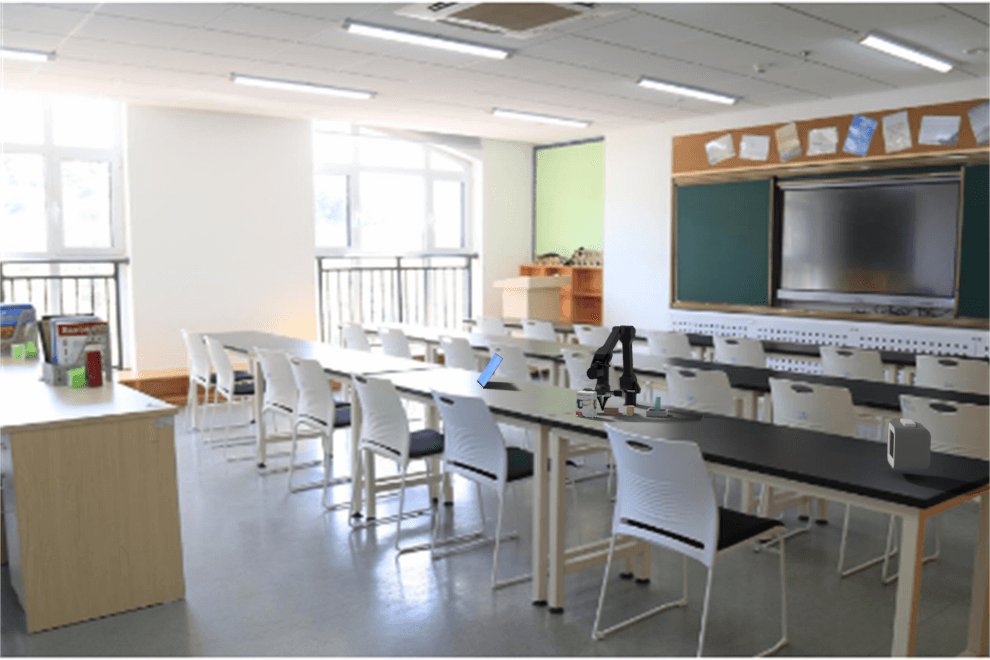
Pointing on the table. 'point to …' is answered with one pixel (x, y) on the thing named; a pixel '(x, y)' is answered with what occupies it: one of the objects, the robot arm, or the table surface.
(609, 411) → the walnut block
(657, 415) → the tray
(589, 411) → the ink box
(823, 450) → the table surface
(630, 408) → the block
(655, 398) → the dowel
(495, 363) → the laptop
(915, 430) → the alarm clock
